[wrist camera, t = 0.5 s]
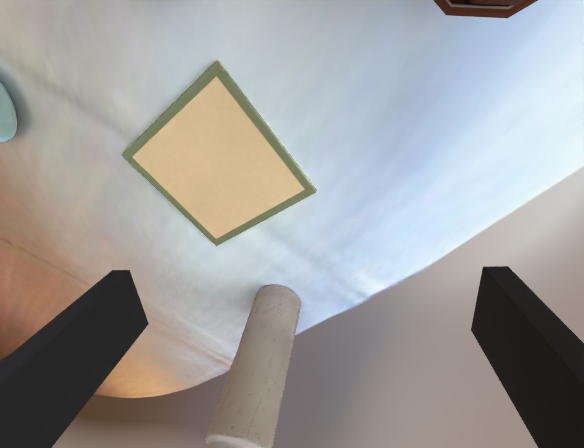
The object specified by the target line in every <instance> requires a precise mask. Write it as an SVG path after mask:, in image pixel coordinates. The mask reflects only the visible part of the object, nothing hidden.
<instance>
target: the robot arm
mask: <svg viewBox="0 0 584 448" xmlns="http://www.w3.org/2000/svg"><path fill="white" fill-rule="evenodd" d="M147 325H148V321H147V318H146V315H145V313H144V310H143V307H142V304H141V301H140V298H139V296H138V293H137V290H136V287H135V284H134V282H133V279H132V276H131V273H130V270H112V271H111V272H110V273H109V274H107V275H106V276H105V277H104V278H102V279H101V280H100V281H99V282H98V283H96V284H95V285H94V286H93V287H92V288H90V289H89V290H88V291H87V292H85V293H84V294H83V295H82V296H81V297H79V298H78V299H77V300H76V301H75V302H73V303H72V304H71V305H70V306H68V307H67V308H66V309H65V310H64V311H62V312H61V313H60V314H59V315H58V316H56V317H55V318H54V319H53V320H51V321H50V322H49V323H48V324H47V325H45V326H44V327H43V328H42V329H41V330H39V331H38V332H37V333H36V334H34V335H33V336H32V337H31V338H30V339H28V340H27V341H26V342H25V343H24V344H22V345H21V346H20V347H19V348H17V349H16V350H15V351H14V352H13V353H11V354H10V355H8V356H6V357H5V358H3V359H1V360H0V448H52V446H53V445H54V444H55V443H56V441H57V440H58V439H59V437H60V436H61V435H62V433H63V432H64V431H65V430H66V428H67V427H68V426H69V425H70V423H71V422H72V421H73V420H74V418H75V417H76V416H77V414H78V413H79V412H80V411H81V409H82V408H83V407H84V406H85V404H86V403H87V402H88V400H89V399H90V398H91V397H92V395H93V394H94V393H95V392H96V390H97V389H98V388H99V386H100V385H101V384H102V383H103V381H104V380H105V379H106V377H107V376H108V375H109V374H110V372H111V371H112V370H113V369H114V367H115V366H116V365H117V363H118V362H119V361H120V360H121V358H122V357H123V356H124V355H125V353H126V352H127V351H128V349H129V348H130V347H131V346H132V344H133V343H134V342H135V341H136V339H137V338H138V337H139V335H140V334H141V333H142V332H143V330H144V329H145V328H146V326H147ZM471 331H472V332H473V334H474V336H475V338H476V339H477V341H478V343H479V345H480V346H481V348H482V350H483V352H484V353H485V355H486V357H487V358H488V360H489V362H490V364H491V366H492V367H493V369H494V371H495V373H496V374H497V376H498V378H499V380H500V381H501V383H502V385H503V387H504V388H505V390H506V392H507V394H508V395H509V397H510V399H511V401H512V402H513V404H514V406H515V407H516V409H517V411H518V413H519V414H520V416H521V418H522V420H523V422H524V423H525V425H526V427H527V429H528V430H529V432H530V434H531V436H532V437H533V439H534V441H535V443H536V444H537V446H538V448H584V343H583V342H582V341H581V340H580V339H579V338H578V337H577V336H576V335H575V334H574V333H573V332H572V331H571V330H570V329H569V328H568V327H567V326H566V325H565V324H564V323H563V322H562V321H561V320H560V319H559V318H558V317H557V316H556V315H555V314H554V313H553V312H552V311H551V310H550V309H549V308H548V307H547V306H546V305H545V304H544V303H543V302H542V301H541V300H540V299H539V298H538V297H537V296H536V295H535V293H533V291H532V290H531V289H529V287H527V285H526V284H525V283H524V282H523V281H522V280H521V279H520V278H519V277H518V276H517V275H516V274H515V273H514V272H513V271H512V270H511V269H510V268H509V267H483V270H482V275H481V280H480V286H479V291H478V296H477V301H476V307H475V312H474V318H473V323H472V328H471Z"/></svg>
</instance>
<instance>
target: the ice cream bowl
mask: <svg viewBox="0 0 584 448" xmlns="http://www.w3.org/2000/svg"><path fill="white" fill-rule="evenodd" d="M536 1H538V0H434V2H435V3H436V4H437V5H438V6H439V7H440V9H441V10H442V11H443V12H444V13H445V14H446V15H453V16H474V17H496V18H509V17H510V16H512V15H514V14H515V13H517V12H519V11H521V10H522V9H524V8H526V7H527V6H529V5H531V4H532V3H534V2H536Z"/></svg>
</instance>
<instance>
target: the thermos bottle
mask: <svg viewBox="0 0 584 448" xmlns="http://www.w3.org/2000/svg"><path fill="white" fill-rule="evenodd" d="M300 307H301V302H300V299H299V297H298V296H297V294H296V293H294V292H293V291H292V290H290V289H288V288H286V287H283V286H279V285H268V286H264V287H262V288H261V289H260V290H259V291H258V292H257V295H256V298H255V300H254V303H253V306H252V309H251V312H250V315H249V317H248V320H247V323H246V326H245V329H244V332H243V334H242V338H241V341H240V345H239V348H238V351H237V353H236V356H235V358H234V360H233V363H232V365H231V368H230V371H229V374H228V377H227V379H226V382H225V385H224V389H223V391H222V394H221V396H220V399H219V402H218V405H217V408H216V411H215V414H214V416H213V419H212V422H211V425H210V428H209V430H208V433H207V436H206V440H205V441H206V443H207V445H208V446H209V448H272V445H273V440H274V435H275V430H276V425H277V420H278V415H279V410H280V405H281V401H282V395H283V391H284V386H285V381H286V376H287V371H288V366H289V361H290V355H291V349H292V345H293V341H294V336H295V331H296V326H297V321H298V317H299V312H300Z"/></svg>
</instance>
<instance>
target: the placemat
mask: <svg viewBox="0 0 584 448" xmlns="http://www.w3.org/2000/svg"><path fill="white" fill-rule="evenodd" d="M122 156H123V157H124V158H125V159H126V160H127V161H128V162H129V163H130V164H131V165H132V166H133V167H135V168H136V169H137V170H138V171H139V172H140V173H141V174H142V175H143V176H144V177H145V178H146V179H147V180H148V181H149V182H150V183H151V184H152V185H153V186H154V187H155V188H156V189H157V190H158V191H159V192H161V193H162V194H163V195H164V196H165V197H166V198H167V199H168V200H169V201H170V202H171V203H172V204H173V205H174V206H175V207H176V208H177V209H178V210H179V211H180V212H181V213H182V214H183V215H184V216H185V217H187V218H188V219H189V220H190V221H191V222H192V223H193V224H194V225H195V226H196V227H197V228H198V229H199V230H200V231H201V232H202V233H203V234H204V235H205V236H206V237H207V238H208V239H209V240H210V241H211V242H213V243H214V244H215V245H216V246H217V245H219V244H221V243H223V242H225V241H227V240H228V239H230V238H232V237H234V236H236V235H238V234H240V233H241V232H243V231H245V230H247V229H249V228H251V227H252V226H254V225H256V224H258V223H260V222H262V221H264V220H265V219H267V218H269V217H271V216H273V215H275V214H277V213H278V212H280V211H282V210H284V209H286V208H288V207H289V206H291V205H293V204H295V203H297V202H299V201H301V200H302V199H304V198H306V197H308V196H310V195H312V194H314V193H315V192H316V189H315V187H314V186H313V185H312V183H311V182H310V181H309V179H308V178H307V177H306V175H305V174H304V173H303V171H302V170H301V169H300V167H299V166H298V165H297V164H296V162H295V161H294V160H293V158H292V157H291V156H290V154H289V153H288V152H287V150H286V149H285V148H284V146H283V145H282V144H281V142H280V141H279V140H278V139H277V137H276V136H275V135H274V133H273V132H272V131H271V129H270V128H269V127H268V125H267V124H266V123H265V121H264V120H263V119H262V117H261V116H260V115H259V114H258V112H257V111H256V110H255V108H254V107H253V106H252V104H251V103H250V102H249V100H248V99H247V98H246V96H245V95H244V94H243V92H242V91H241V90H240V89H239V87H238V86H237V85H236V83H235V82H234V81H233V79H232V78H231V77H230V75H229V74H228V73H227V71H226V70H225V69H224V67H223V66H222V65H221V64H220V62H219V61H216V62H215V63H214V64H213V65H212V66H211V67H210V68H209V69H208V70H207V71H206V72H205V73H204V74H203V75H202V76H201V77H200V78H199V79H198V80H197V81H196V82H195V83H194V84H193V85H192V86H191V87H190V88H189V89H188V90H187V91H186V92H185V93H184V94H183V95H182V96H181V97H180V98H179V99H178V100H177V101H176V102H174V103H173V104H172V105H171V106H170V107H169V108H168V109H167V110H166V111H165V112H164V113H163V114H162V115H161V116H160V117H159V118H158V119H157V120H156V121H155V122H154V123H153V124H152V125H151V126H150V127H149V128H148V129H147V130H146V131H145V132H144V133H143V134H142V135H141V136H140V137H139V138H138V139H137V140H136V141H135V142H134V143H133V144H132V145H131V146H130V147H129V148H128V149H127V150H126V151H125V152H124V153H123V154H122Z"/></svg>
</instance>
